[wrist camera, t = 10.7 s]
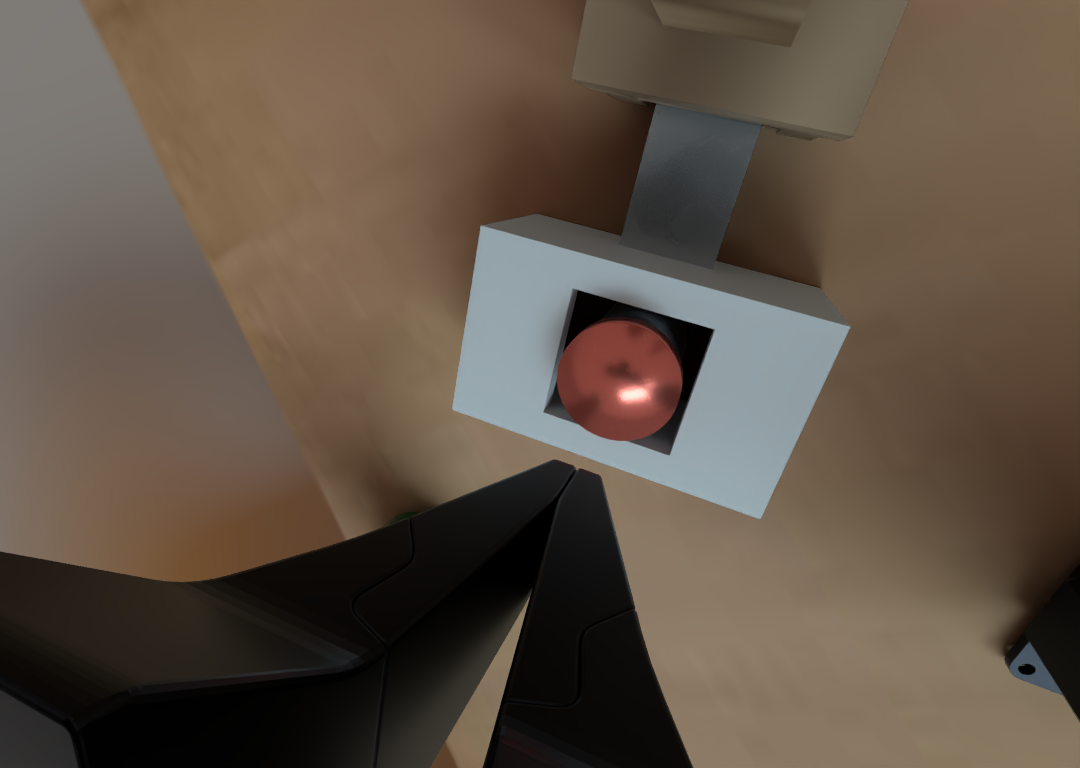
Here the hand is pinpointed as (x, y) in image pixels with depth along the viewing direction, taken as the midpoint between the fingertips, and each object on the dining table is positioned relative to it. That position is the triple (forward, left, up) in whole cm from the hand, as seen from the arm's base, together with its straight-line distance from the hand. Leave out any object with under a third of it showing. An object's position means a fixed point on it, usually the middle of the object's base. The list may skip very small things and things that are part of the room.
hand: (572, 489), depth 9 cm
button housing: (0, 0, -12) cm, 12 cm away
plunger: (0, +1, -11) cm, 11 cm away
